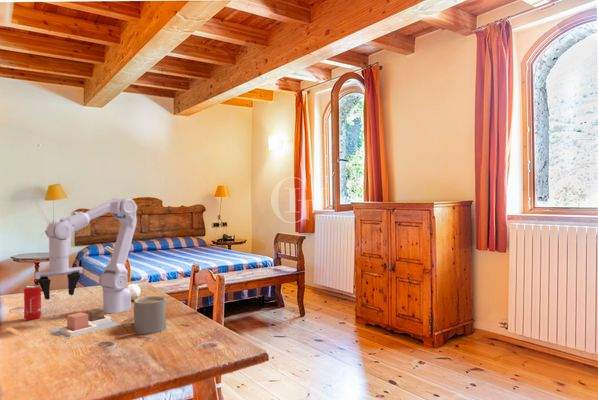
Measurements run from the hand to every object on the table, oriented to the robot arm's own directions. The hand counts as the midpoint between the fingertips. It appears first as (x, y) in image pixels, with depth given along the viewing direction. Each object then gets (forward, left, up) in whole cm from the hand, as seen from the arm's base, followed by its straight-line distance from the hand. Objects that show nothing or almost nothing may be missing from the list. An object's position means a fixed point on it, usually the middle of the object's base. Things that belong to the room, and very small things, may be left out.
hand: (59, 296), depth 142 cm
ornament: (-35, -15, -11) cm, 40 cm away
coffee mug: (-18, +25, -11) cm, 33 cm away
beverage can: (+2, -18, -11) cm, 21 cm away
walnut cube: (-9, +7, -9) cm, 15 cm away
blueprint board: (-4, +10, -10) cm, 15 cm away
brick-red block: (-1, +12, -9) cm, 15 cm away
